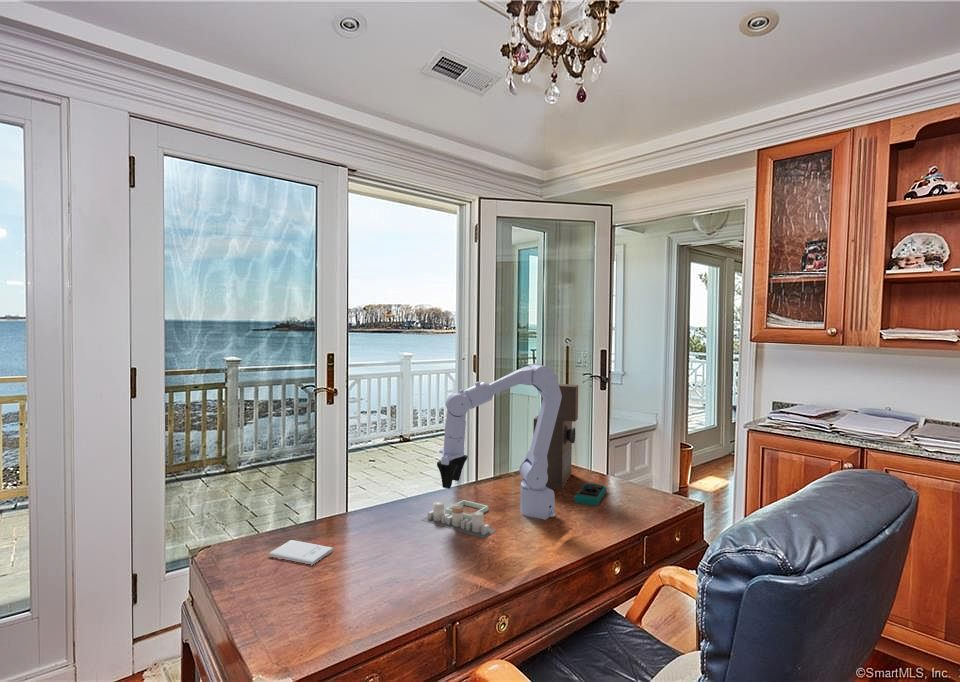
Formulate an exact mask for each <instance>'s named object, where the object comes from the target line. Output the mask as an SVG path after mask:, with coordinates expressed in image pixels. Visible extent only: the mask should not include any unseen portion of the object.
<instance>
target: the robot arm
mask: <svg viewBox="0 0 960 682" xmlns="http://www.w3.org/2000/svg"><path fill="white" fill-rule="evenodd" d="M558 377H559V376H558V375H557V374H556V373H555V372H554V370H553V369H552V368H551V367H550V366H547V365H546V366H545V365H542V364H541V363H532V364H530V365H529V366H523V367H521V368H519V369H517V370H515V371H512V372H510V373H508V374H506V375H505V376H502V377H500V378H499V379H496V380H494V381H492V382H490V383H487V382H484V381H482V382H480V381H476V382H474V385H473V386H471V387H468V388H466V389H463V388H461V389H459V393H458V392H455V393H452V394H450V395H449V396H448V397H447V399H446V401H445V407H446V409H447V412H446V414H445V416H446V419H445V425H444V426H445V427H444V439H443V448H440V449H439V450H438V451H439V454H442V456H441V459H440V460H438V461H437V462H436V466H437V468H438V471H439V473H440V478H441V486H442V488H444V489H451V488H452V485H453V481H456V482H459V481H460V478H461V476H462V471H463V468H464V466H465V463H466V461H467V460H468V459H469V458H468V455H467V454H465V439H466V426H467V424H466V423H467V421H466V419H467V418H466V416H467V413H468V411H469V410H473V409H475V408H477V407H480V406H481V405H484V404H486V403H488V402H490V401H492V399H493V397H494V395H495V394H498V393H500V392H503V391H504V390H505V391H506V390H509V389H510V388H513V387H516V386H518V385H523V386H524V385H526V386H533V387H535V389H536V390H537V392H538V393H539V394H540V396H541V397H542V401H541V405H540V408H539V409H540V410H539V412H538V415H539V416H538V415H537V416H538V420H537V424H536V428H535V432H534V436H533V435H532V441H531V444H530V448H529V451H528V452H527V453H526V454H525V457H524V460H523V461H522V462H521V464H520V465H519V474H520V476H521V477H522V480H521V482H520V510H519V511H520V515H523V516H525V517H529V518H536V519H541V520H543V521H544V520H547V519H549V518H550V517H551V518H554V517H556V513H555V510H556V509H555V506H556V505H555V504H556V503H555V500H556V499H555V498H556V497H555V491H554V490H553V489H552V488H547V487H546V483H547V481H548V474H547V468H548V461H547V454H548V450H549V446H550V442H551V438H552V434H553V430H554V426H555V422H556V418H557V414H558V411H559V407H560V403H561V399H562V395H561V391H560V388H559V384H560V383H559V380H558V379H559V378H558Z"/></svg>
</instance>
